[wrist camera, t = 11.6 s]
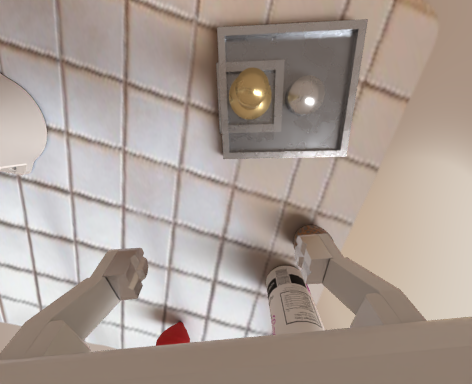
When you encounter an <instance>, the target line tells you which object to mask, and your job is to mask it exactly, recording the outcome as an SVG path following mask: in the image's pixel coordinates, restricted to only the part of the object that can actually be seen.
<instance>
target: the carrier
mask: <svg viewBox="0 0 472 384" xmlns="http://www.w3.org/2000/svg"><path fill="white" fill-rule="evenodd" d="M367 22H368V19H363V20H344V21H326V22H307V23H288V24H270V25H251V26H232V27H217V36H218V57H219V63H216V69H217V88H218V108H219V127H220V133H222V141H223V159H249V158H299V157H346V154H347V148H348V141H349V135H350V129H351V122H352V116H353V110H354V104H355V97H356V91H357V85H358V78H359V72H360V66H361V60H362V53H363V47H364V41H365V34H366V28H367ZM252 67H253V68H258V69H260V70H262V71H263V72H264V73H265V74H266V76H267V78H268V81H269V85H270V88H271V92H272V97H271V102H270V105H269V107H268V109H267V110H266V112H265V113H264V114H263V115H261V116H260V117H258V118H256V119H253V120H246V119H242V118H240V117H239V116H238V115H237V114H236V113H235V112H234V111H233V109H232V107H231V105H230V101H229V91H230V88H231V85H232V83H233V82H234V80H235V79H236V78H237V77H238V76H239V74H240V73H241V72H242V71H243V70H245V69H247V68H252Z"/></svg>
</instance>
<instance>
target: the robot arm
mask: <svg viewBox="0 0 472 384" xmlns="http://www.w3.org/2000/svg"><path fill="white" fill-rule="evenodd" d="M46 142H47V128H46V123H45V120H44V117H43V115H42V113H41V111H40V109H39V107H38V105H37V104H36V102H35V101H34V100H33V98H32V97H31V96H30V95H29V94H28V93H27V92H26V91H25V90H24V89H23V88H22V87H20V86H19V85H18V84H16V83H15V82H13V81H11V80H10V79H8V78H6V77H5V76H3V75H2V74H1V73H0V171H2V172H8V173H14V174H19V175H24V174H29V173H31V171H32V168H33V164H34V161H35V160H36V159H37V158H38V157H39V156H40V155H41V153H42V152H43V150H44V148H45V146H46ZM296 242H297V244H298V245H297V246H296V247H295V258H296V262H297V264H298V266H300V267H301V268H302V269H301V274H302V276H303V279H304V281H305V284H319V283H323V285H324V286H325V287H326V288H327V289H328V290H329V291H330V292H331V293H333V294H334V295H335V296H336V297H337V298H338V299H339V300H340V301H341V302H342V303H343V304H344V305H345V306H347V307H348V308H349V309H350V310H351V311H352V312H353V313H354V314H355V315H356V316H355V318H354V320H353V322H352V323H351V326H350V327H351V328H344V329H334V330H323V331H312V332H301V333H290V334H279V335H268V336H257V337H246V338H235V339H224V340H213V341H203V342H192V343H181V344H170V345H159V346H149V347H138V348H127V349H116V350H105V351H95V352H90V347H89V346H88V345H87V344H86V343H85V342H84V339H85V338H86V337H87V336H88V335H89V334H90V333H91V332H92V331H93V330H94V329H95V328H96V327H97V325H98V324H99V323H100V322H101V321H102V320H103V319H104V318H105V317H106V316H107V315H108V314H109V313H110V311H111V310H112V309H113V308H114V307H115V306H116V305H117V304H118V303H119V302H120V301H119V300H128V299H137V298H138V296H139V293H140V291H141V288H142V286H143V285H142V283H141V281H142V280H143V279H145V278H146V275H147V272H148V262H147V259H146V258H144V257H143V254H144V252H143V250H142V248H130V249H114V250H109V251H108V252H107V253H106V254H105V256H104V257H103V259H102V260H101V262H100V263H99V265H98V266H97V268H96V269H95V271H94V272H93V274H92V275H91V277H90V278H86V279H85V280H83V281H82V282H81V283H79V284H78V285H77V286H75V287H74V288H72V289H71V290H70V291H68V292H67V293H65V294H64V295H63V296H61V297H60V298H58V299H57V300H56V301H54V302H53V303H51V304H50V305H49V306H47V307H46V308H45V309H43V310H42V311H40V312H39V313H38V314H36V315H35V316H33V317H32V318H31V319H29V320H28V321H26V322H25V323H24V325H23V326H22V327H21V329H20V330H19V331H18V332H17V333H16V334H15V336H14V337H13V338H12V339H11V341H10V342H9V343H8V344H7V346H6V347H5V348H4V349H3V351H2V352H1V353H0V384H472V317H463V318H452V319H443V320H442V319H441V320H431V321H426V319H425V318H424V317H423V316H422V315H421V314H420V313H419V311H418V310H417V309H416V308H415V306H414V305H413V304H412V303H411V302H410V300H409V299H408V298H407V297H406V296H405V295H404V294H403V292H402V291H401V290H400V289H398V288H396V287H395V286H393V285H392V284H390V283H388V282H387V281H385V280H383V279H382V278H380V277H378V276H377V275H375V274H373V273H372V272H370V271H369V270H367V269H365V268H364V267H362V266H360V265H359V264H357V263H355V262H354V261H352V260H350V259H349V258H344V257H343V255H342V254H341V252H340V251H339V249H338V248H337V246H336V245H335V244H334V242H333V241H332V239H331V238H330V236H329V235H328V234H327V233H324V234H313V235H301V236H298V237H297V240H296Z"/></svg>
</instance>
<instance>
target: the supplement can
mask: <svg viewBox="0 0 472 384" xmlns="http://www.w3.org/2000/svg"><path fill="white" fill-rule="evenodd" d="M266 285H267V292H268V300H269V307H270V314H271V322H272V329H273V335H279V334H290V333H301V332H312V331H323V330H325V329H324V326H323V324H322V321H321V319H320V316H319V314H318V311H317V308H316V306H315V303H314V301H313V298H312V296H311V293H310V291H309V288H308V286H307V284H305V281H304V279H303V276H302V274H301V271H300V270H298V269H297V268H295V267H292V266H280V267H277V268H275V269H273V270H272V271H270V273H269V274H268V276H267V279H266Z"/></svg>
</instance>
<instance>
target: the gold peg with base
mask: <svg viewBox="0 0 472 384" xmlns="http://www.w3.org/2000/svg"><path fill="white" fill-rule="evenodd" d="M271 97H272V92H271V88H270V85H269V81H268V78H267V76H266V74H265V73H264V72H263V71H262V70H260V69H258V68H253V67H252V68H247V69H245V70H243V71H242V72H241V73H240V74H239V76H238V77H237V78H236V79H235V80H234V82H233V83H232V85H231V88H230V91H229V101H230V105H231V107H232V109H233V111H234V112H235V113H236V114H237V115H238V116H239V117H240V118H242V119H246V120H253V119H256V118H258V117H260V116H261V115H263V114H264V113H265V112H266V110H267V109H268V107H269V105H270V102H271Z"/></svg>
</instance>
